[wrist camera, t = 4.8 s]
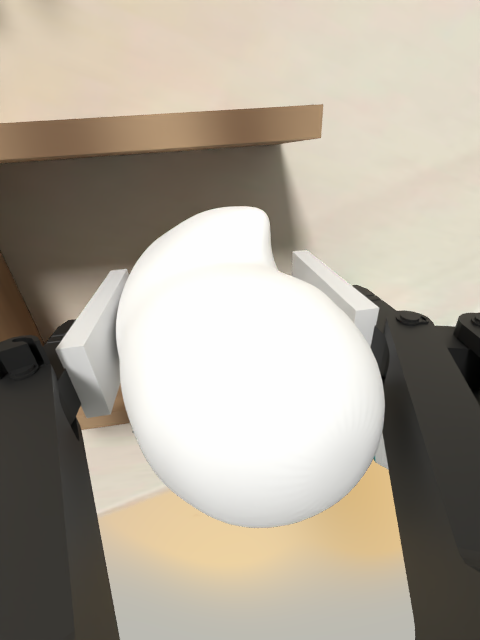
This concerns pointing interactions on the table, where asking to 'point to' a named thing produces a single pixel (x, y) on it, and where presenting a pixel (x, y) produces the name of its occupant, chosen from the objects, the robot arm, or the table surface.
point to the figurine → (244, 375)
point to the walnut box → (137, 138)
